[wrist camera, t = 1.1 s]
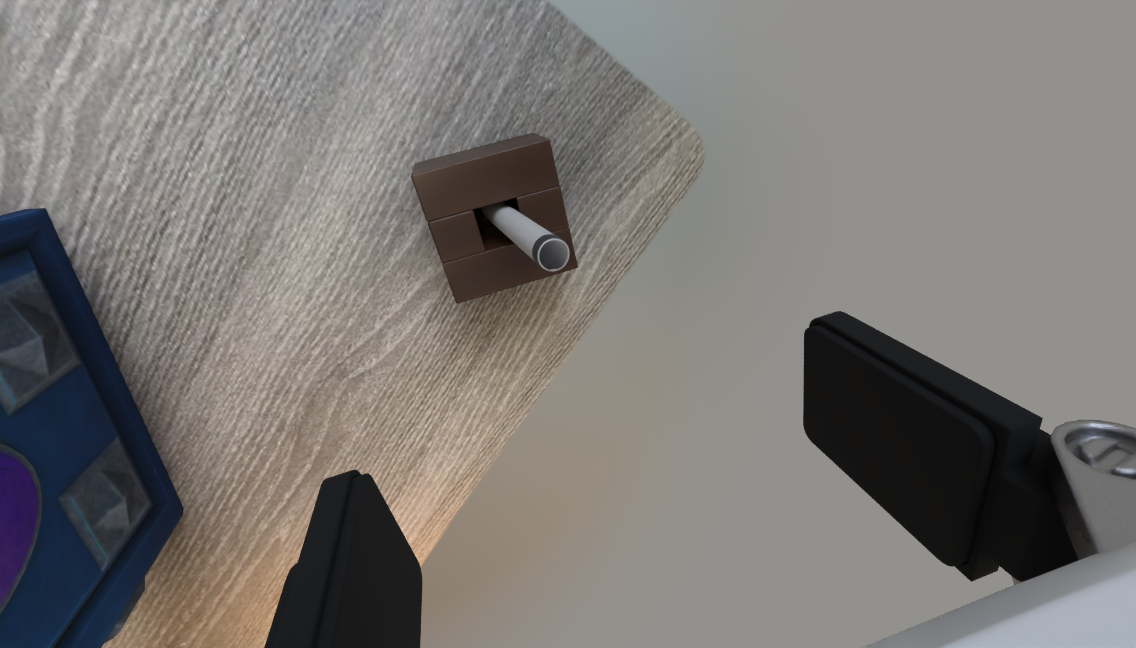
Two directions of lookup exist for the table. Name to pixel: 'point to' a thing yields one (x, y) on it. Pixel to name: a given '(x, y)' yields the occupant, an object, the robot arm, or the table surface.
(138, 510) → the book
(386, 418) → the table surface
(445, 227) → the pen stand
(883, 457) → the robot arm
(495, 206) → the stylus
